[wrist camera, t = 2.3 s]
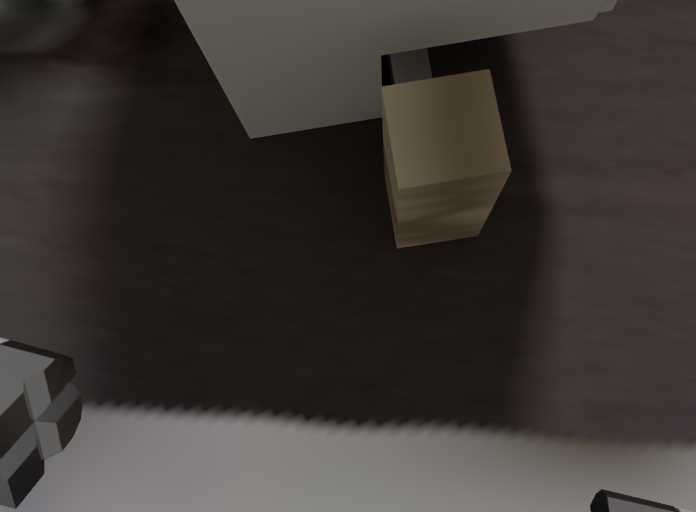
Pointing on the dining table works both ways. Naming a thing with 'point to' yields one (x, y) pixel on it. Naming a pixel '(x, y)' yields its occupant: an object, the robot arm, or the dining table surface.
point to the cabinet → (342, 49)
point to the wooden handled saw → (440, 150)
